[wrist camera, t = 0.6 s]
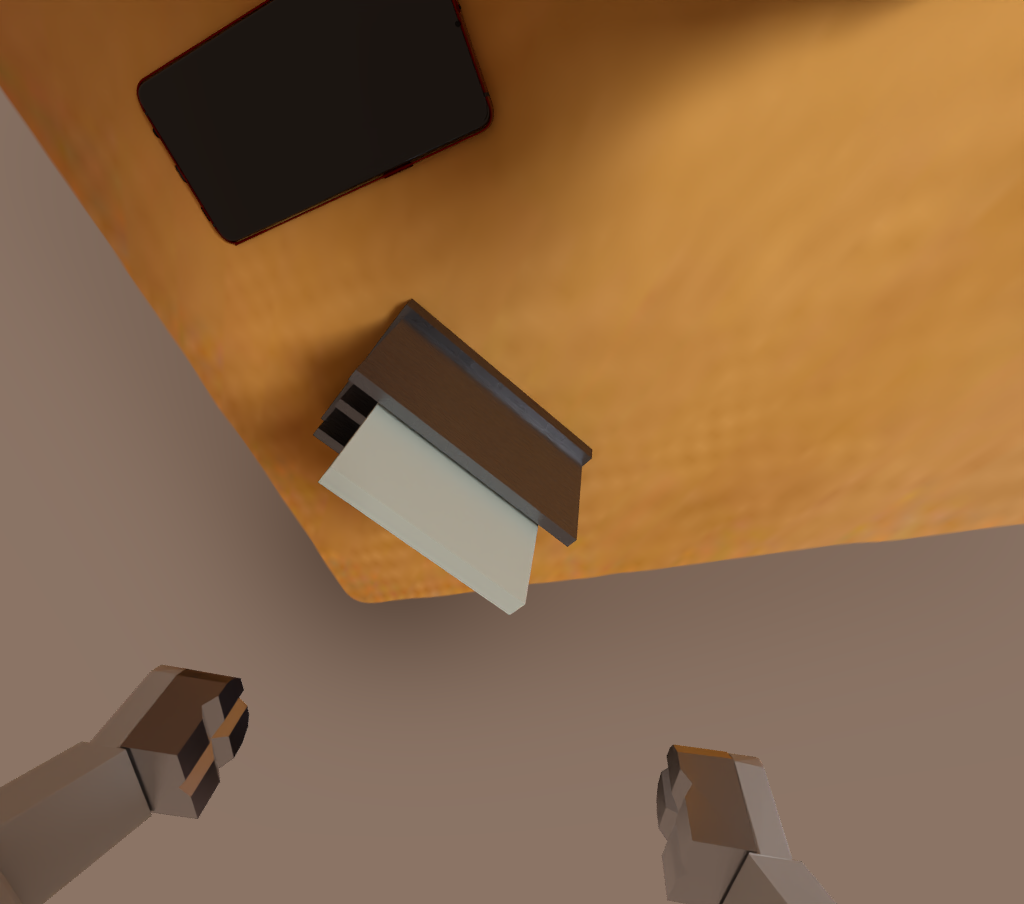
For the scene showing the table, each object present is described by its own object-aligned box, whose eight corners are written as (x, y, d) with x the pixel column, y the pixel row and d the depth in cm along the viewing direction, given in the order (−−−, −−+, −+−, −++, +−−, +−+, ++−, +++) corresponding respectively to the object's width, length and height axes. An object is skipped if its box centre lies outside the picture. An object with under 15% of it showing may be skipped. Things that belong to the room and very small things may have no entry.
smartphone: (122, 86, 40) (419, -104, 32) (137, 86, 41) (427, -97, 33) (223, 252, 46) (498, 126, 37) (234, 247, 47) (502, 125, 39)
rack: (411, 298, 46) (354, 357, 36) (592, 449, 51) (588, 538, 41) (327, 411, 53) (259, 486, 43) (492, 532, 59) (467, 626, 48)
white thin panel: (419, 348, 47) (330, 466, 32) (549, 454, 51) (525, 604, 36) (409, 360, 48) (318, 482, 33) (538, 464, 51) (509, 615, 36)
